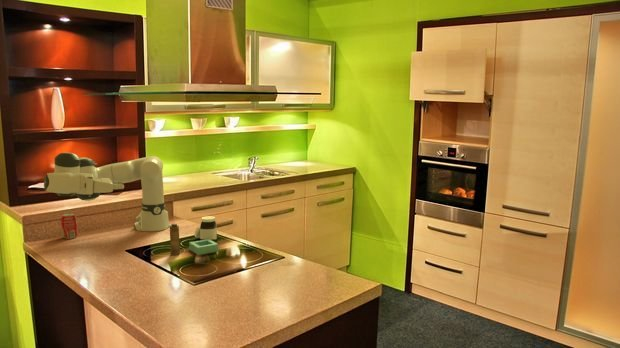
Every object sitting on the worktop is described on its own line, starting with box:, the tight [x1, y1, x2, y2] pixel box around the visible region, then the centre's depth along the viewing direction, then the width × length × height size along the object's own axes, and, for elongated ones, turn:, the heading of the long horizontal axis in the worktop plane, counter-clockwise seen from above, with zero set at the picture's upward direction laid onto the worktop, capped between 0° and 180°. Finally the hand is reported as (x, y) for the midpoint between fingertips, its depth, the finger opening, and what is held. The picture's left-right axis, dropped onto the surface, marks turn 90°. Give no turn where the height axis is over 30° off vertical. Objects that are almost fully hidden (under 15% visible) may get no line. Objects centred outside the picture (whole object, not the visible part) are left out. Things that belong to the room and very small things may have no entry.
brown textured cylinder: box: [169, 223, 181, 257], centre depth 223 cm, size 4×4×14 cm
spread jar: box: [194, 215, 218, 242], centre depth 246 cm, size 12×11×12 cm
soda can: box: [60, 212, 79, 240], centre depth 248 cm, size 7×7×12 cm
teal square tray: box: [188, 239, 219, 256], centre depth 230 cm, size 10×10×4 cm
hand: (122, 185), depth 212 cm, fingers open, 8 cm apart
